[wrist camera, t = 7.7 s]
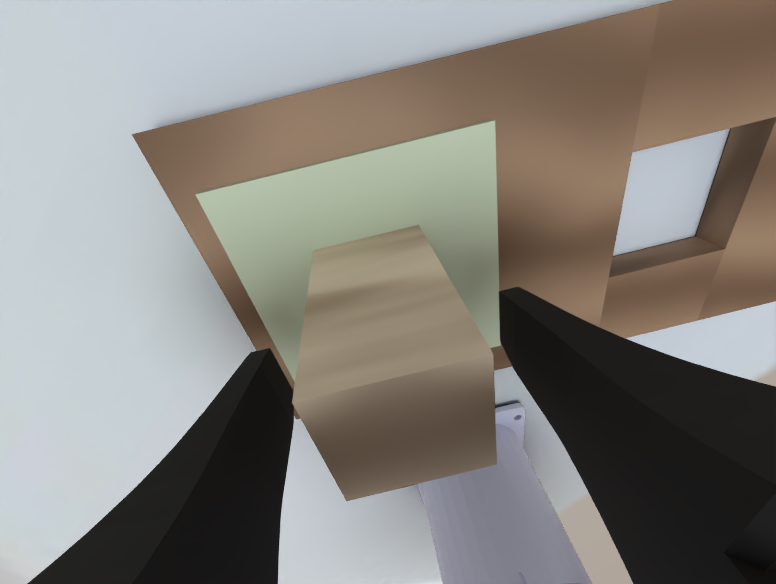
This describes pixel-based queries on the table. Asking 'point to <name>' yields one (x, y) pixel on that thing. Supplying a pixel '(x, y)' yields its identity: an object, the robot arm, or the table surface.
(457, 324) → the maple block
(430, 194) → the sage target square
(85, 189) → the table surface
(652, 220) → the table surface
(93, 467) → the table surface
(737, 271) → the walnut pocket board
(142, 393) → the table surface
